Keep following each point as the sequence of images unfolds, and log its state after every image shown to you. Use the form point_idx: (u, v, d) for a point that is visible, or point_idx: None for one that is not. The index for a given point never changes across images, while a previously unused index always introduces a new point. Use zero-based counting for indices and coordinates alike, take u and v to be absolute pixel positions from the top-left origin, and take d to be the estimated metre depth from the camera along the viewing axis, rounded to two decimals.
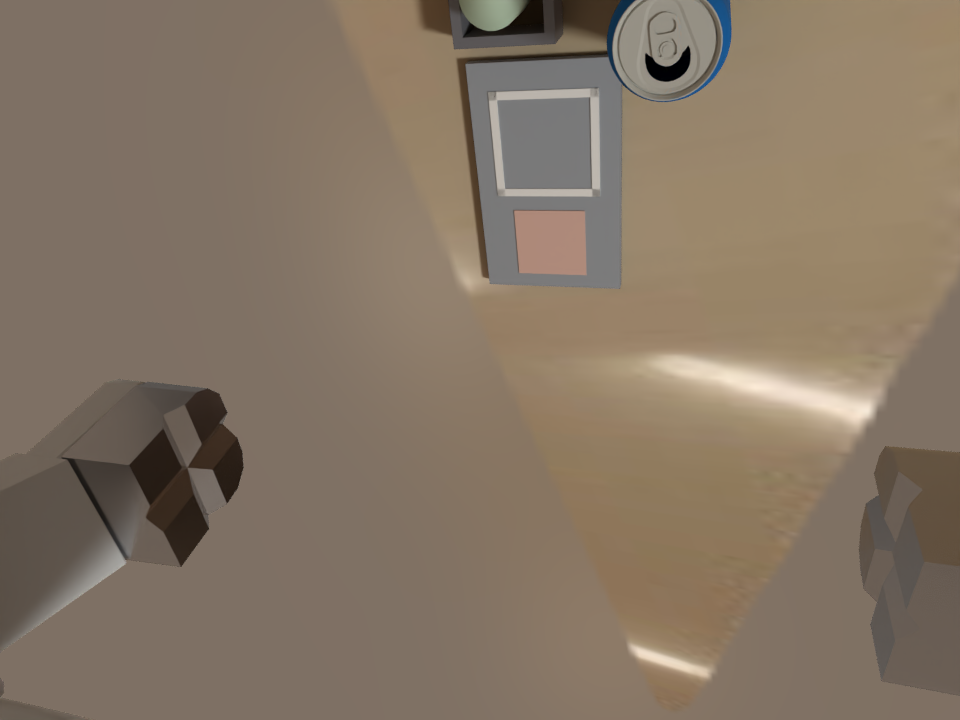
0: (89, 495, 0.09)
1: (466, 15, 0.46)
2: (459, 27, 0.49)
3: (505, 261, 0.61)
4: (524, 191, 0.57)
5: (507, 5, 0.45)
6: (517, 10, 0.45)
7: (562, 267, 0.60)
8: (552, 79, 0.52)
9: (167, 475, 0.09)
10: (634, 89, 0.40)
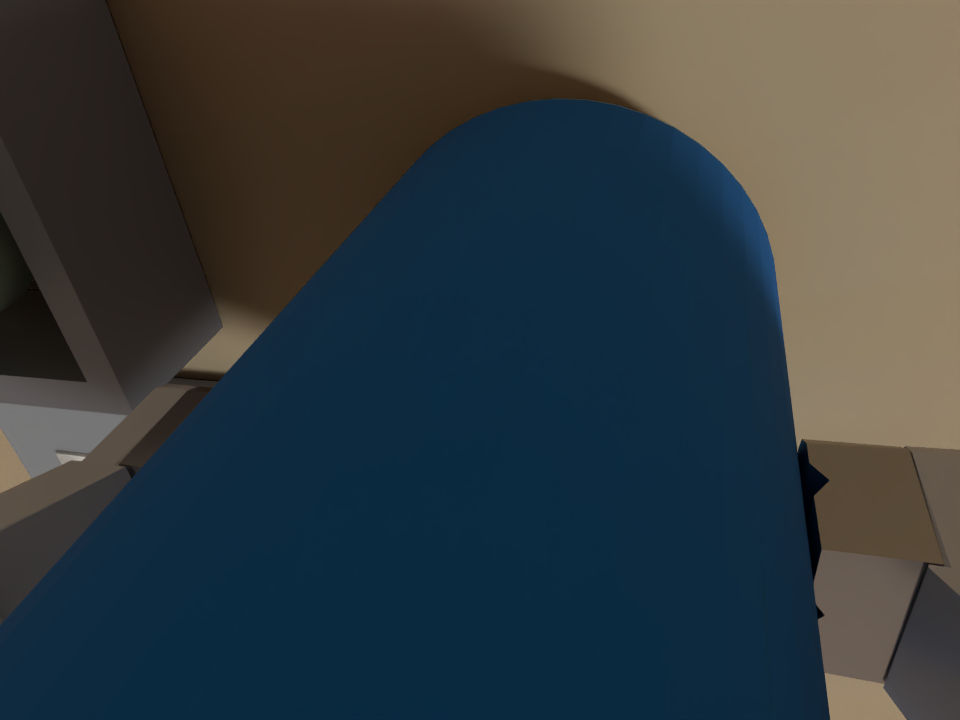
0: None
1: None
2: None
3: None
4: None
5: None
6: None
7: None
8: None
9: None
10: None
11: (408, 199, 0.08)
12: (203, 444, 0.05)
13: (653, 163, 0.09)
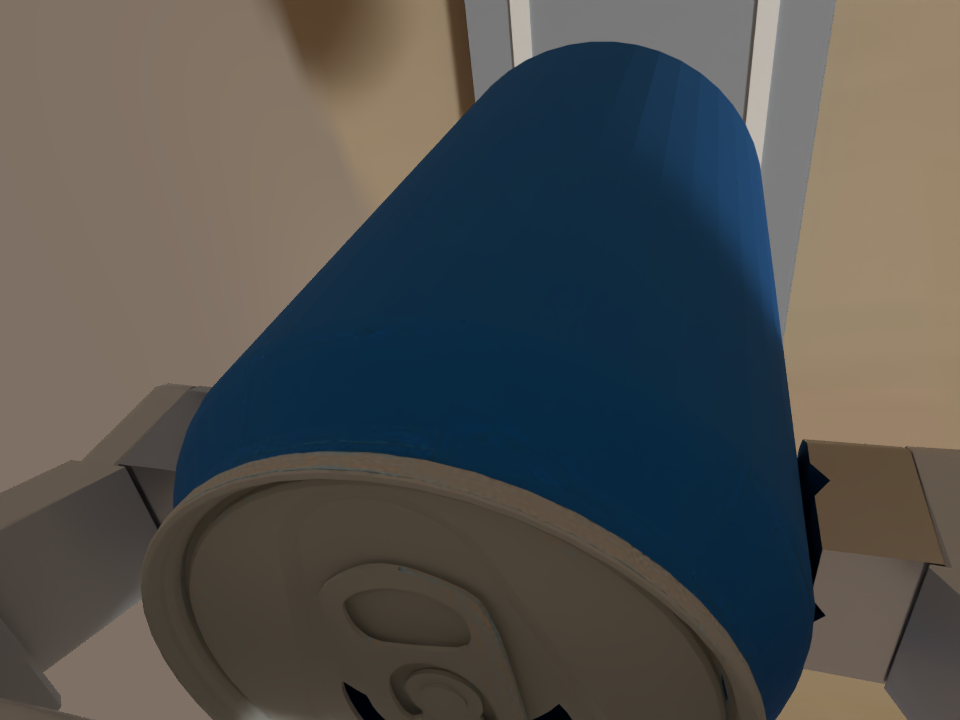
0: (145, 503, 0.09)
1: None
2: None
3: None
4: None
5: None
6: None
7: None
8: None
9: None
10: None
11: (490, 103, 0.12)
12: (396, 210, 0.08)
13: (666, 79, 0.12)
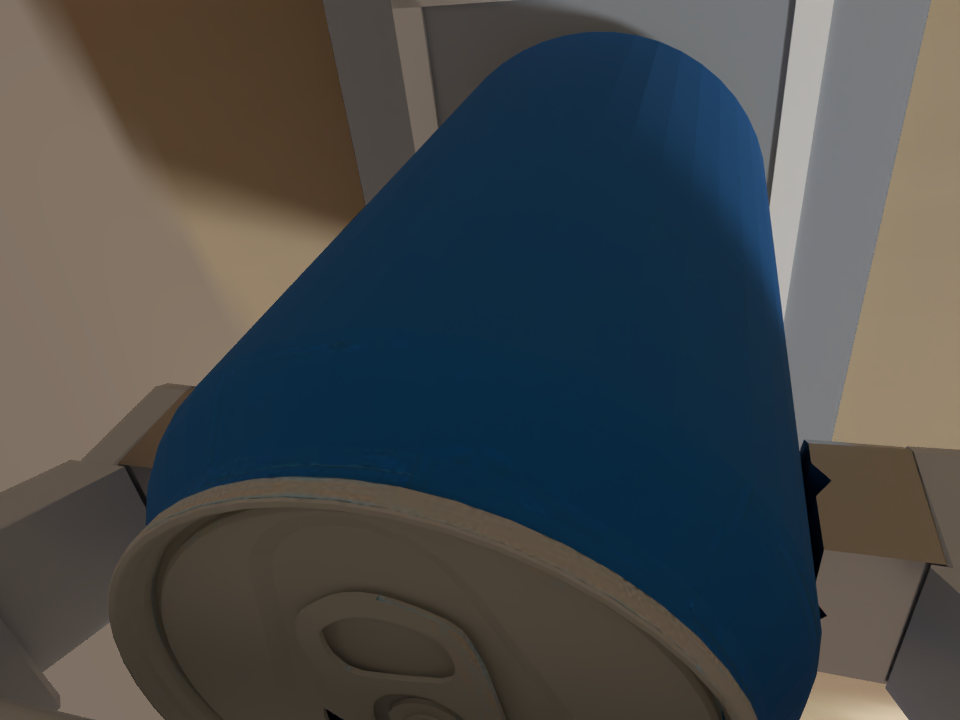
0: (145, 503, 0.09)
1: None
2: None
3: None
4: None
5: None
6: None
7: None
8: None
9: None
10: None
11: (483, 97, 0.11)
12: (381, 211, 0.08)
13: (666, 70, 0.12)
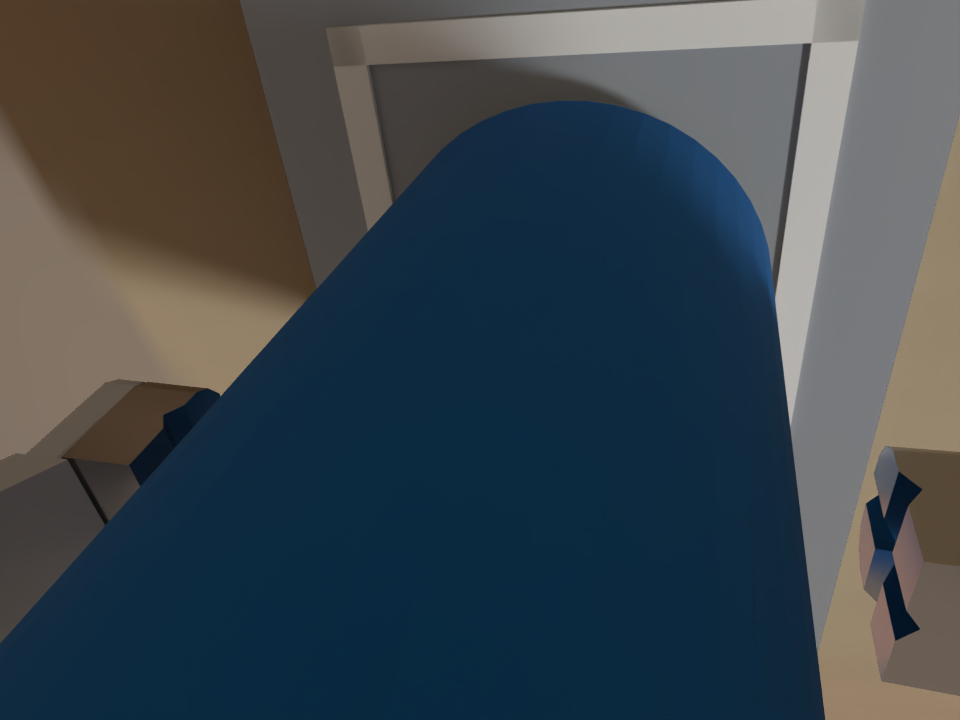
0: (89, 495, 0.09)
1: None
2: None
3: None
4: None
5: None
6: None
7: None
8: None
9: None
10: None
11: (424, 193, 0.09)
12: (250, 399, 0.06)
13: (651, 157, 0.09)
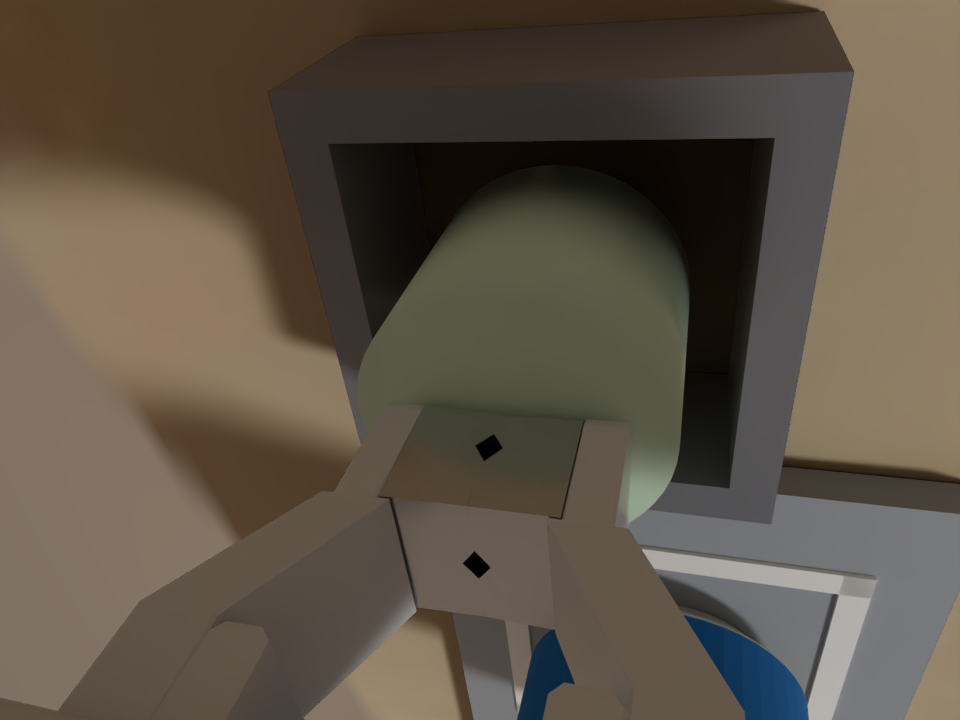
0: (401, 538, 0.08)
1: None
2: None
3: None
4: None
5: None
6: (649, 499, 0.09)
7: None
8: (709, 531, 0.15)
9: None
10: None
11: None
12: None
13: None
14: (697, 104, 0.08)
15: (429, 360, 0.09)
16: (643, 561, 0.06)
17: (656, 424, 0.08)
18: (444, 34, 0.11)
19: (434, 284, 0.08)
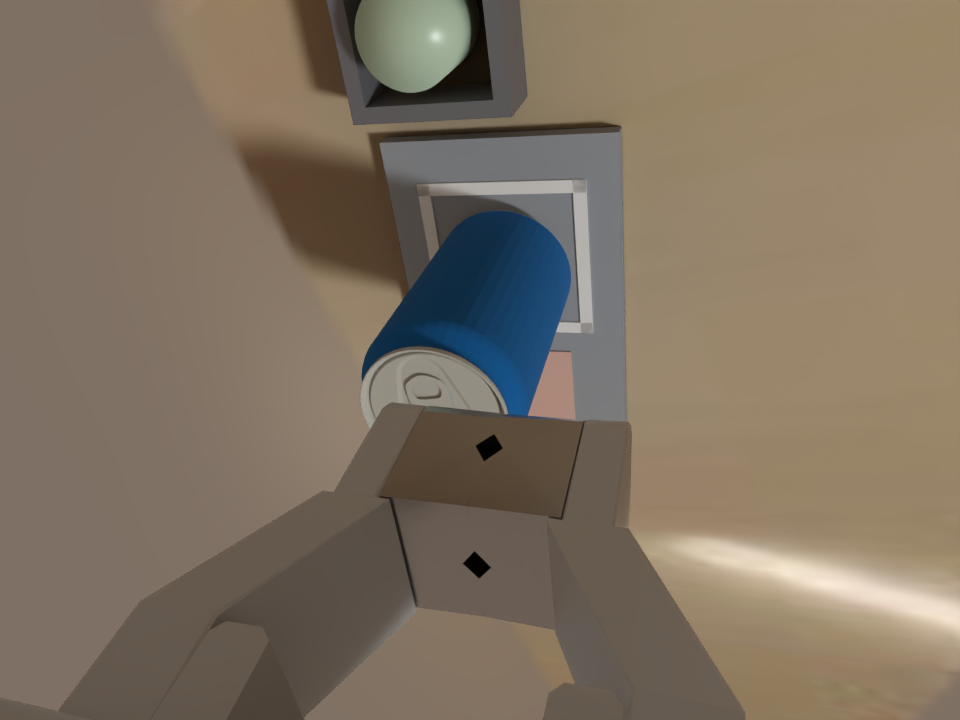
0: (402, 538, 0.08)
1: (370, 68, 0.28)
2: (358, 91, 0.31)
3: None
4: None
5: (434, 52, 0.28)
6: (450, 60, 0.28)
7: None
8: (512, 165, 0.33)
9: None
10: None
11: (453, 243, 0.32)
12: (421, 289, 0.28)
13: (519, 231, 0.32)
14: None
15: (377, 11, 0.27)
16: (643, 561, 0.06)
17: (446, 25, 0.27)
18: None
19: None
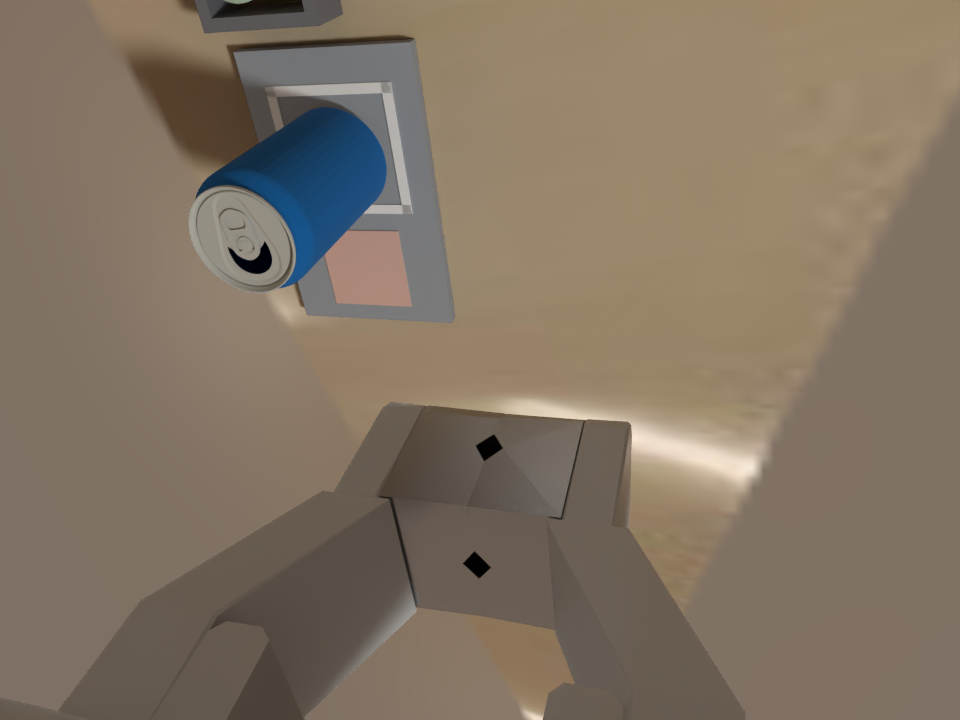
0: (401, 538, 0.08)
1: None
2: (205, 5, 0.39)
3: (319, 289, 0.51)
4: None
5: None
6: None
7: (383, 297, 0.50)
8: (335, 70, 0.42)
9: None
10: (228, 280, 0.37)
11: (282, 128, 0.40)
12: (242, 154, 0.37)
13: (336, 120, 0.41)
14: None
15: None
16: (643, 561, 0.06)
17: None
18: None
19: None
